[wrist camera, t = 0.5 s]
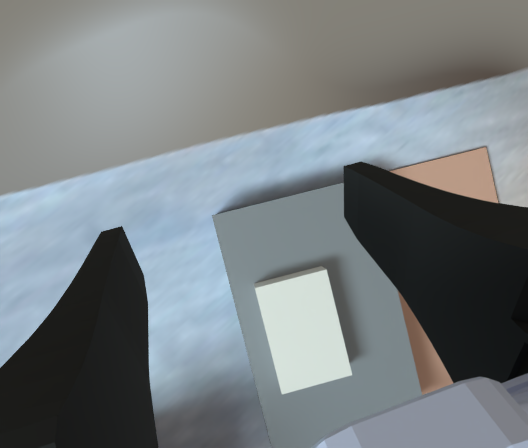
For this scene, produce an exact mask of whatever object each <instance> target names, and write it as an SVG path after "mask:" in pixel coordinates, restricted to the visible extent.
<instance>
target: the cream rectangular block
mask: <svg viewBox="0 0 528 448" xmlns="http://www.w3.org/2000/svg"><path fill="white" fill-rule="evenodd" d="M254 287H255V291H256V295H257V299H258V303H259V307H260V311H261V315H262V319H263V323H264V326H265V330H266V334H267V338H268V342H269V346H270V350H271V354H272V358H273V362H274V366H275V370H276V374H277V378H278V382H279V386H280V390H281V393H282V394H286V393H290V392H293V391H297V390H300V389H304V388H308V387H311V386H315V385H318V384H322V383H326V382H329V381H333V380H336V379H340V378H344V377H347V376H351V375H352V371H351V367H350V363H349V359H348V355H347V351H346V347H345V343H344V339H343V335H342V331H341V326H340V322H339V318H338V314H337V310H336V306H335V302H334V298H333V294H332V290H331V285H330V281H329V277H328V273H327V269H325V268H324V267H322V266H319V267H316V268H312V269H308V270H304V271H300V272H297V273H293V274H289V275H285V276H281V277H277V278H274V279H270V280H266V281H262V282H258V283H254Z"/></svg>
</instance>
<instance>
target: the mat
mask: <svg viewBox="0 0 528 448" xmlns="http://www.w3.org/2000/svg"><path fill="white" fill-rule="evenodd" d="M389 172H392V173H395V174H397V175H400V176H403V177H405V178H408V179H411V180H414V181H416V182H419V183H422V184H425V185H428V186H431V187H434V188H438V189H441V190H444V191H447V192H451V193H455V194H458V195H462V196H467V197H471V198H475V199H479V200H484V201H489V202H494V203H498V199H497V195H496V190H495V186H494V181H493V177H492V172H491V167H490V163H489V158H488V154H487V149H486V147H484V148H480V149H476V150H472V151H468V152H464V153H460V154H456V155H452V156H448V157H444V158H440V159H436V160H432V161H428V162H424V163H420V164H416V165H412V166H408V167H405V168H401V169H397V170H393V171H389ZM398 294H399V298H400V303H401V307H402V311H403V315H404V320H405V324H406V328H407V332H408V337H409V341H410V345H411V349H412V354H413V358H414V362H415V366H416V371H417V375H418V379H419V383H420V388H421V392H422V394H426V393H429V392H432V391H435V390H437V389H440V388H443V387H445V386H448V385H451V384H453V381H452V380H451V378H450V376H449V374H448V372H447V370H446V368H445V367H444V365H443V363H442V361H441V359H440V358H439V356H438V354H437V352H436V351H435V349H434V347H433V345H432V343H431V342H430V340H429V338H428V337H427V335H426V333H425V332H424V330H423V328H422V327H421V325H420V323H419V322H418V320H417V319H416V317H415V315H414V314H413V312H412V311H411V309H410V308H409V306H408V304H407V303H406V301H405V300H404V298H403V297H402V295H401V294H400V293H399V291H398Z"/></svg>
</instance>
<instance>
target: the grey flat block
mask: <svg viewBox="0 0 528 448" xmlns="http://www.w3.org/2000/svg"><path fill="white" fill-rule="evenodd" d="M212 217H213V221H214V225H215V229H216V233H217V237H218V241H219V244H220V248H221V252H222V256H223V260H224V264H225V268H226V272H227V276H228V280H229V283H230V287H231V291H232V295H233V299H234V303H235V307H236V311H237V315H238V318H239V322H240V326H241V330H242V334H243V338H244V342H245V346H246V350H247V354H248V357H249V361H250V365H251V369H252V373H253V377H254V381H255V385H256V389H257V392H258V396H259V400H260V404H261V408H262V412H263V416H264V420H265V424H266V427H267V431H268V435H269V439H270V443H271V447H272V448H311V447H313V446H314V445H315V444H316V443H317V442H318V441H319V440H320V439H321V438H323V437H324V436H325V435H327V434H329V433H331V432H333V431H334V430H336V429H338V428H340V427H342V426H344V425H346V424H348V423H350V422H353V421H356V420H358V419H361V418H364V417H366V416H369V415H372V414H374V413H377V412H379V411H382V410H385V409H387V408H390V407H393V406H395V405H398V404H401V403H403V402H406V401H408V400H411V399H414V398H416V397H419V396H422V392H421V388H420V383H419V379H418V375H417V371H416V366H415V362H414V358H413V354H412V349H411V345H410V341H409V337H408V332H407V328H406V324H405V320H404V315H403V311H402V307H401V303H400V298H399V294H398V290H397V288H396V287H395V286H394V285H393V283H392V282H391V281H390V280H389V278H388V277H387V276H386V275H385V273H384V272H383V271H382V270H381V269H380V267H379V266H378V265H377V264H376V262H375V261H374V260H373V259H372V257H371V256H370V255H369V254H368V252H367V251H366V250H365V249H364V247H363V246H362V245H361V244H360V242H359V241H358V240H357V238H356V237H355V235H354V233H353V232H352V230H351V228H350V226H349V225H348V223H347V221H346V219H345V218H344V183H340V184H336V185H332V186H328V187H324V188H320V189H316V190H312V191H308V192H304V193H300V194H296V195H292V196H288V197H284V198H280V199H276V200H272V201H268V202H264V203H260V204H256V205H252V206H248V207H244V208H240V209H236V210H232V211H228V212H224V213H220V214H216V215H212ZM319 266H322V267H324V268H325V269H327V273H328V277H329V281H330V285H331V290H332V294H333V298H334V302H335V306H336V310H337V314H338V318H339V322H340V326H341V331H342V335H343V339H344V343H345V347H346V351H347V355H348V359H349V363H350V367H351V371H352V375H351V376H347V377H344V378H340V379H336V380H333V381H329V382H326V383H322V384H318V385H315V386H311V387H308V388H304V389H300V390H297V391H293V392H290V393H286V394H282V393H281V390H280V386H279V382H278V378H277V374H276V370H275V366H274V362H273V358H272V354H271V350H270V346H269V342H268V338H267V334H266V330H265V326H264V323H263V319H262V315H261V311H260V307H259V303H258V299H257V295H256V291H255V287H254V283H258V282H262V281H266V280H270V279H274V278H277V277H281V276H285V275H289V274H293V273H297V272H300V271H304V270H308V269H312V268H316V267H319Z"/></svg>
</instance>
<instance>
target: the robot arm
mask: <svg viewBox="0 0 528 448" xmlns="http://www.w3.org/2000/svg"><path fill="white" fill-rule="evenodd" d="M344 218H345V219H346V221H347V223H348V225H349V226H350V228H351V230H352V232H353V233H354V235H355V237H356V238H357V240H358V241H359V242H360V244H361V245H362V246H363V247H364V249H365V250H366V251H367V252H368V254H369V255H370V256H371V257H372V259H373V260H374V261H375V262H376V264H377V265H378V266H379V267H380V269H381V270H382V271H383V272H384V273H385V275H386V276H387V277H388V278H389V280H390V281H391V282H392V283H393V285H394V286H395V287H396V288H397V290H398V291H399V293H400V294H401V295H402V297H403V298H404V300H405V301H406V303H407V304H408V306H409V308H410V309H411V311H412V312H413V314H414V315H415V317H416V319H417V320H418V322H419V323H420V325H421V327H422V328H423V330H424V332H425V333H426V335H427V337H428V338H429V340H430V342H431V343H432V345H433V347H434V349H435V351H436V352H437V354H438V356H439V358H440V359H441V361H442V363H443V365H444V367H445V368H446V370H447V372H448V374H449V376H450V378H451V380H452V381H453V384H451V385H448V386H445V387H443V388H440V389H437V390H435V391H432V392H430V393H427V394H424V395H422V396H419V397H416V398H414V399H411V400H408V401H406V402H403V403H401V404H398V405H395V406H393V407H390V408H387V409H385V410H382V411H379V412H377V413H374V414H372V415H369V416H366V417H364V418H361V419H358V420H356V421H353V422H350V423H348V424H346V425H344V426H342V427H340V428H338V429H336V430H334V431H333V432H331V433H329V434H327V435H325V436H324V437H323V438H321V439H320V440H319V441H318V442H317V443H316V444H315V445H314V446H313V447H311V448H528V208H527V207H519V206H513V205H507V204H500V203H494V202H489V201H484V200H479V199H475V198H471V197H467V196H462V195H458V194H455V193H451V192H447V191H444V190H441V189H438V188H434V187H431V186H428V185H425V184H422V183H419V182H416V181H414V180H411V179H408V178H405V177H403V176H400V175H397V174H395V173H392V172H389V171H387V170H384V169H381V168H379V167H376V166H373V165H370V164H367V163H364V162H358V163H354V164H351V165H347V166H344ZM0 448H158V443H157V435H156V428H155V421H154V414H153V406H152V398H151V389H150V381H149V355H148V301H147V294H146V287H145V281H144V275H143V273H142V270H141V268H140V266H139V263H138V261H137V259H136V257H135V254H134V252H133V250H132V248H131V245H130V243H129V241H128V239H127V236H126V234H125V232H124V230H123V227H122V226H121V227H118V228H114V229H110V230H106V231H103V232H101V233H100V235H99V237H98V238H97V240H96V242H95V244H94V245H93V247H92V249H91V251H90V252H89V254H88V256H87V258H86V259H85V261H84V263H83V265H82V266H81V268H80V270H79V271H78V273H77V274H76V276H75V278H74V279H73V281H72V283H71V284H70V286H69V287H68V289H67V290H66V291H65V293H64V294H63V296H62V297H61V299H60V300H59V302H58V303H57V305H56V306H55V307H54V309H53V310H52V311H51V313H50V314H49V315H48V316H47V318H46V319H45V320H44V321H43V322H42V324H41V325H40V326H39V327H38V328H37V330H36V331H35V332H34V333H33V334H32V335H31V337H30V338H29V339H28V340H27V341H26V342H25V343H24V344H23V345H22V346H21V347H20V348H19V349H18V350H17V351H16V352H15V353H14V354H13V356H12V357H11V358H10V359H9V360H8V361H7V362H6V363H5V364H4V365H3V366H2V367H1V368H0Z"/></svg>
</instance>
